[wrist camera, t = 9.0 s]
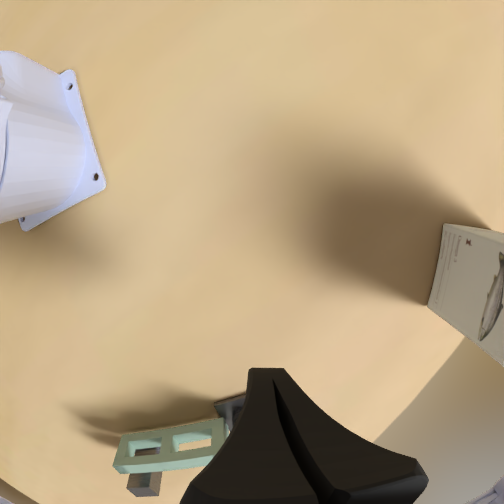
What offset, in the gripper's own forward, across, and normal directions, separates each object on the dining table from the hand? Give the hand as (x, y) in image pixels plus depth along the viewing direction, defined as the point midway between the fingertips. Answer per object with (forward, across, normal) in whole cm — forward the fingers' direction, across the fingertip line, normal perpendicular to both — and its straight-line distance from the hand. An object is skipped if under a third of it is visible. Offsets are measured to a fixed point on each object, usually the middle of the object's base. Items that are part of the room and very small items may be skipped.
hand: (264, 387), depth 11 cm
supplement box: (+10, -18, -3) cm, 21 cm away
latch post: (+10, +8, +18) cm, 22 cm away
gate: (+9, +5, +13) cm, 17 cm away
